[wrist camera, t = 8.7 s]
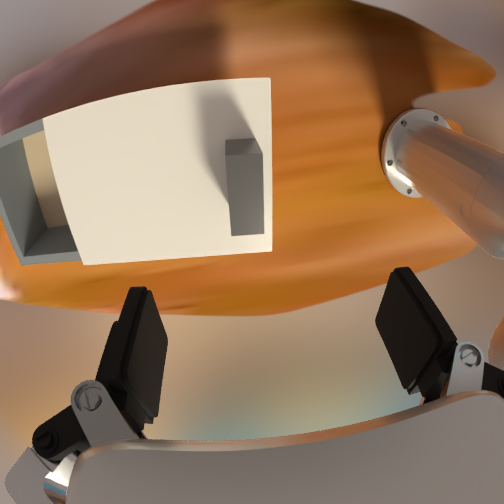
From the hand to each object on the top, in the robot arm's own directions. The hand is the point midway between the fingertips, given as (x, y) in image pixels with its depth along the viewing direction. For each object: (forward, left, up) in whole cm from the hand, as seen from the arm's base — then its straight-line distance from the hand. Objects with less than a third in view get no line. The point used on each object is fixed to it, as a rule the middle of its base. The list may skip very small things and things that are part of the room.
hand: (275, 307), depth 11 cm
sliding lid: (+6, +6, -16) cm, 18 cm away
